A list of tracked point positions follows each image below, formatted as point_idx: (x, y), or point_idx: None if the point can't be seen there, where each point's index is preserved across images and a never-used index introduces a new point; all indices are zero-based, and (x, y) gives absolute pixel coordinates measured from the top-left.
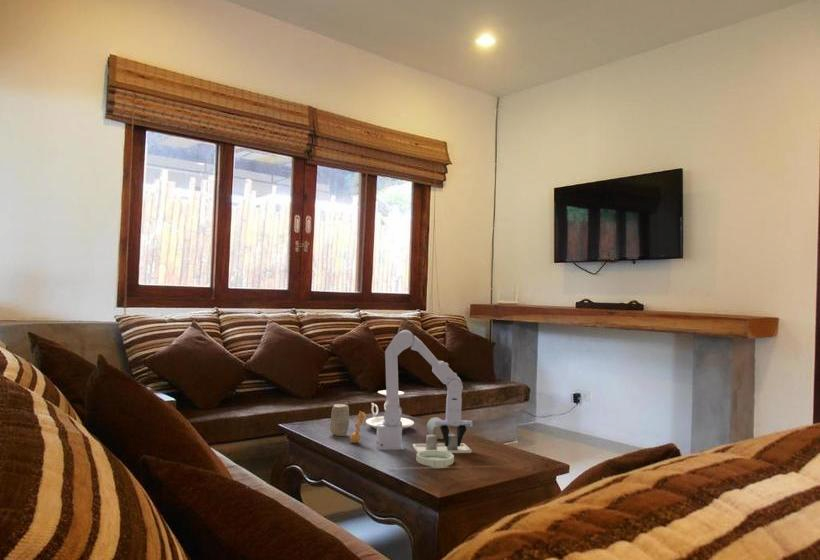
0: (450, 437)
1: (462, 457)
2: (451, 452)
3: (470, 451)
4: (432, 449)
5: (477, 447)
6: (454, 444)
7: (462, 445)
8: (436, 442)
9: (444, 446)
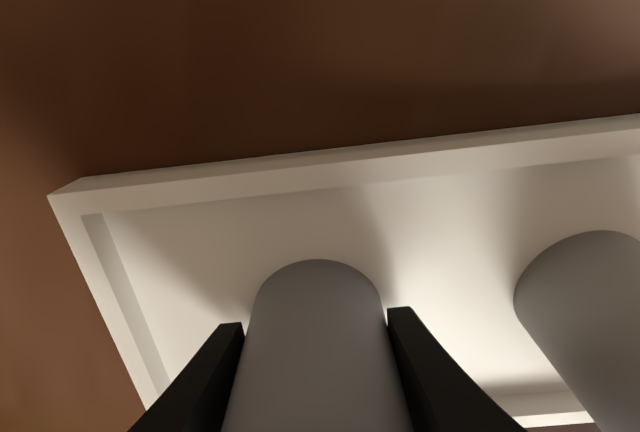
0: (380, 418)
1: (210, 9)
2: (360, 154)
3: (74, 189)
4: (610, 240)
5: (45, 413)
6: (297, 311)
7: None
8: (606, 329)
9: None
